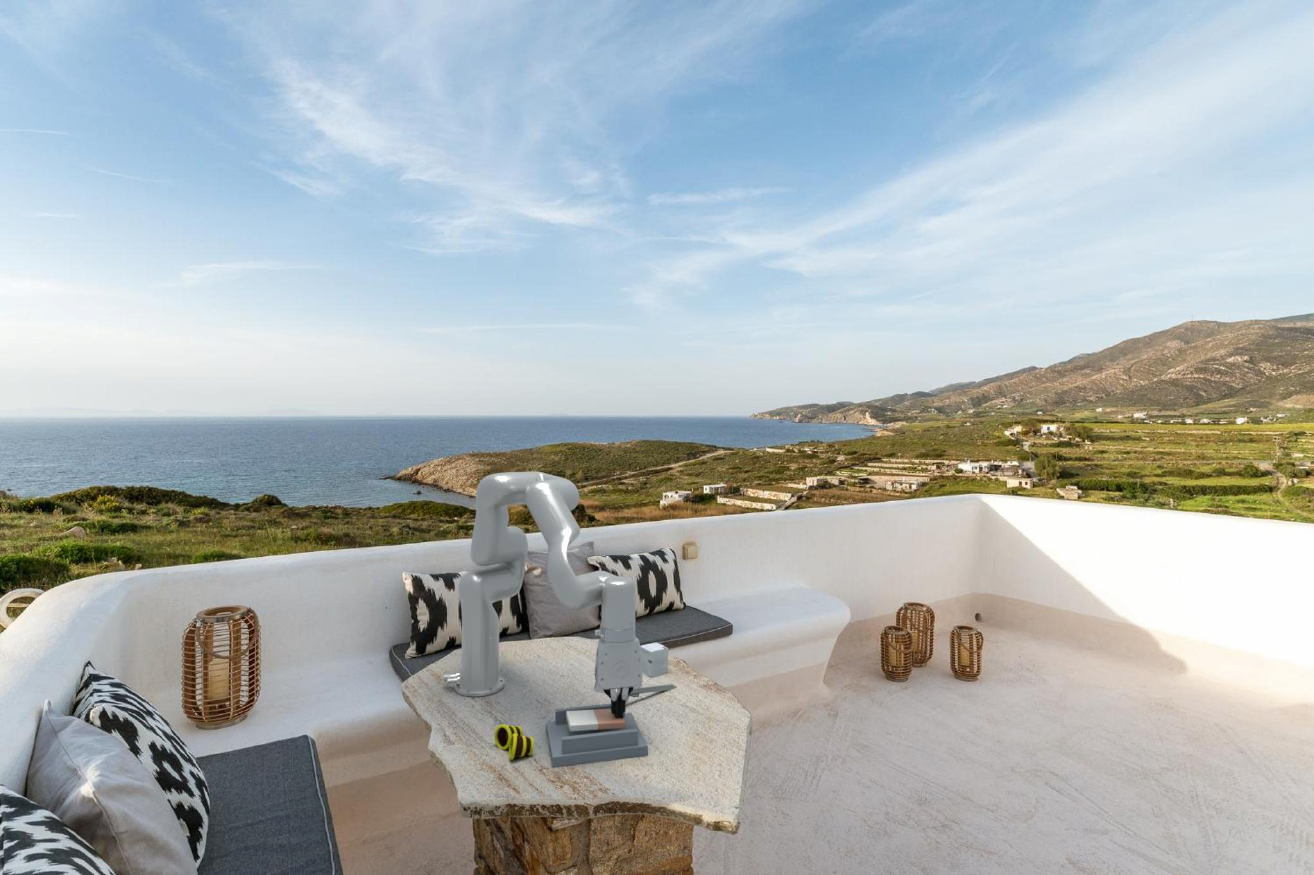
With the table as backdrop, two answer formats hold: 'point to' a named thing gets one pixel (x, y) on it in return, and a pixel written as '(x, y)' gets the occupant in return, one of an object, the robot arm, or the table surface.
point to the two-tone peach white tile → (593, 720)
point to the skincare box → (654, 659)
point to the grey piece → (593, 740)
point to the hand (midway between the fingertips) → (618, 715)
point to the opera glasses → (513, 741)
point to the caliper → (648, 690)
